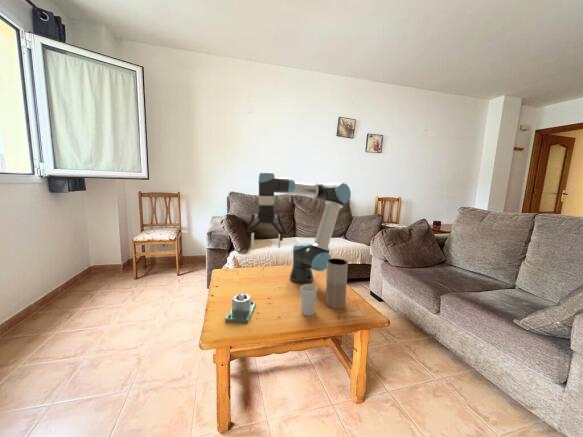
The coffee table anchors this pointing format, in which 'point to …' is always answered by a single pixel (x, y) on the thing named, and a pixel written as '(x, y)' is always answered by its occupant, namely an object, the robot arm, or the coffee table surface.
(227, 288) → the coffee table surface
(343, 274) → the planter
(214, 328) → the coffee table surface
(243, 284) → the coffee table surface
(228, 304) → the coffee table surface
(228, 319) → the shaft stand
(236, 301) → the ring
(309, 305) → the cup
